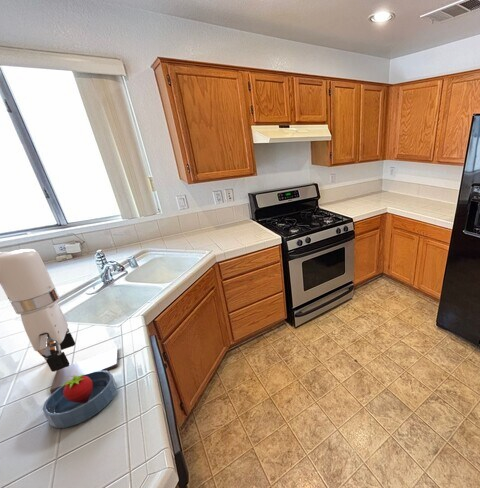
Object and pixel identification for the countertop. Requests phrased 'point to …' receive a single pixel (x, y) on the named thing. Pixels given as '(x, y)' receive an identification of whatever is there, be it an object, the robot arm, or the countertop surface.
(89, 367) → the board
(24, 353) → the countertop surface
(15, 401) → the countertop surface
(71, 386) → the strawberry
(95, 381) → the basin
